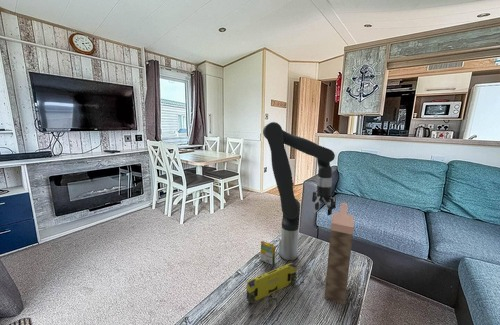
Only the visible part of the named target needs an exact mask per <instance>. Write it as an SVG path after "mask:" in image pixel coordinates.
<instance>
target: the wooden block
mask: <svg viewBox="0 0 500 325" xmlns="http://www.w3.org/2000/svg"><path fill="white" fill-rule="evenodd" d="M329 233H330V234H329V245H328V255H327V266H326V274H325V275H326V276H325V277H326V278H325V287H324V295H323V296H324V298H323V299H327V300H329V301H331V302H335V303H338V304H341V305H344V306H345V305H346V296H347V290H348V289H347V288H348V279H349V272H350V271H349V270H350V260H351V255H352V254H351V252H352V244H353V238H354V237H353V236H354V234H353V235H352V234H347V233H342V232H338V231H333V230H331V229H330V232H329Z"/></svg>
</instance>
